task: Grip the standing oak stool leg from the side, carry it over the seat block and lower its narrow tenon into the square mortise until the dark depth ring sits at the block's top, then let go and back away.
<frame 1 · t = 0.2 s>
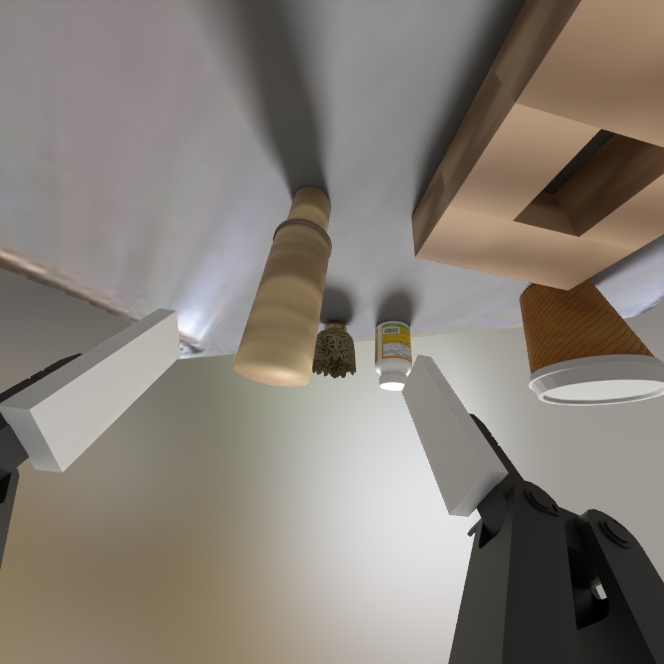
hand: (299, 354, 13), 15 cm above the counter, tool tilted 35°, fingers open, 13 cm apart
disposable coffee cup: (552, 291, 28), on the counter
supplement bottle: (392, 327, 39), on the counter
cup: (336, 323, 39), on the counter
seat block: (557, 149, 16), on the counter
leg: (312, 205, 21), on the counter
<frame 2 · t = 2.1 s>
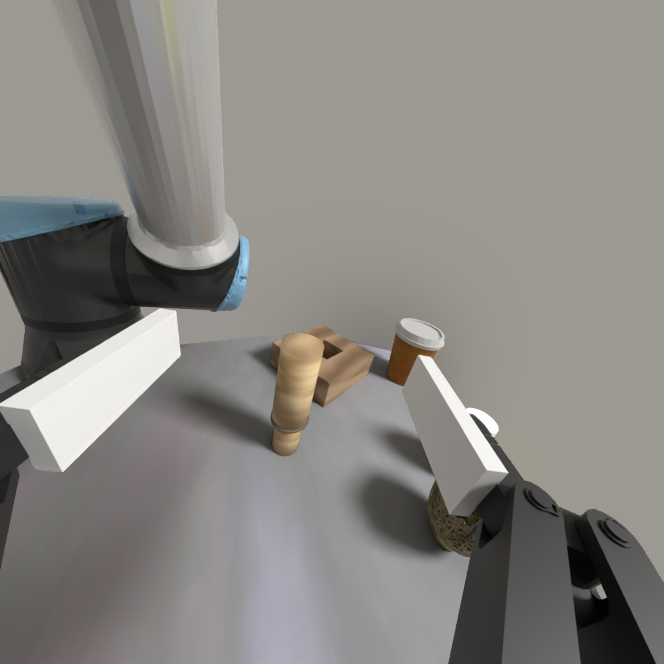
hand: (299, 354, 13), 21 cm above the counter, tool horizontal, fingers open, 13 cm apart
disposable coffee cup: (400, 377, 51), on the counter
supplement bottle: (447, 467, 34), on the counter
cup: (443, 533, 26), on the counter
seat block: (320, 369, 47), on the counter
leg: (285, 443, 32), on the counter
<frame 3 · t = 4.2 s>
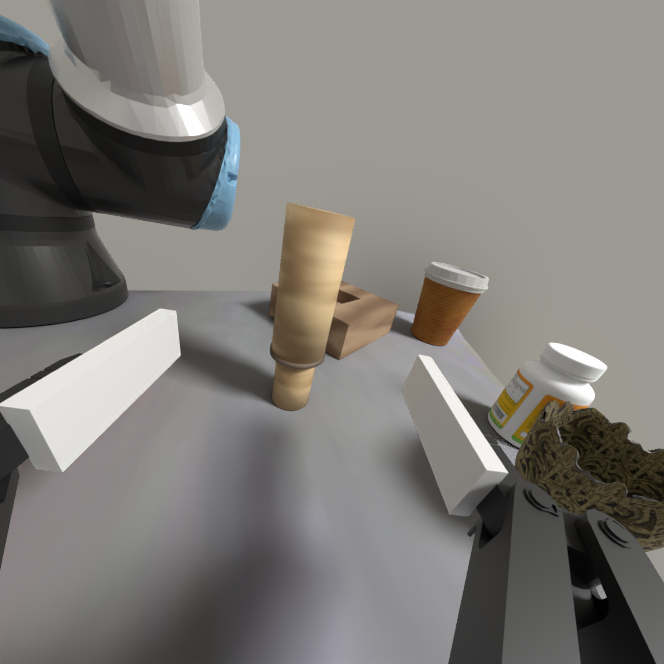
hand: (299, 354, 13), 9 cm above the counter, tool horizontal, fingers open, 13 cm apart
disposable coffee cup: (428, 337, 42), on the counter
supplement bottle: (512, 432, 25), on the counter
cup: (537, 519, 17), on the counter
seat block: (331, 324, 38), on the counter
leg: (290, 396, 22), on the counter
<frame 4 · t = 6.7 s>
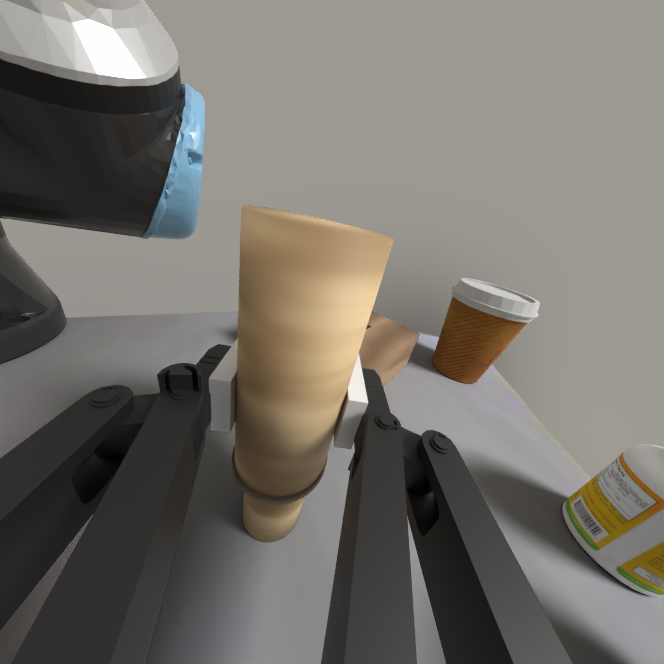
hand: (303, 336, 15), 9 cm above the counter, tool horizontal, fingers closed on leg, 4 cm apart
disposable coffee cup: (453, 370, 34), on the counter
supplement bottle: (604, 544, 17), on the counter
seat block: (334, 357, 30), on the counter
leg: (272, 506, 14), on the counter, touching gripper
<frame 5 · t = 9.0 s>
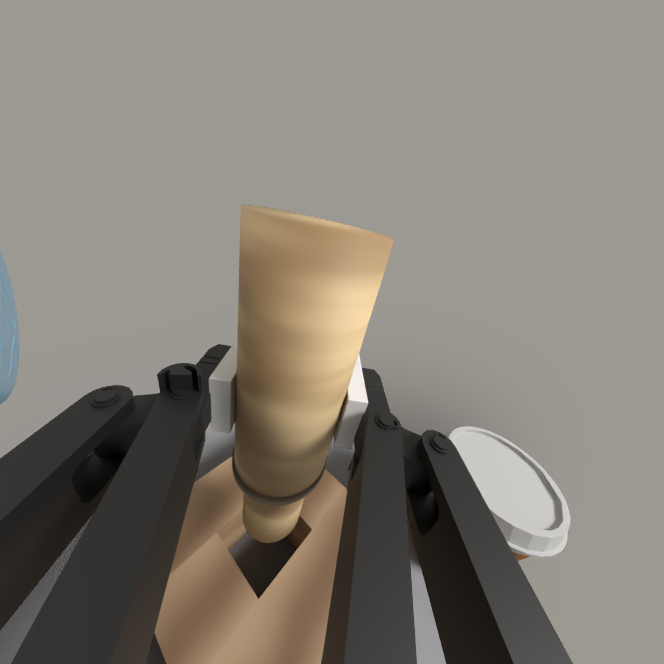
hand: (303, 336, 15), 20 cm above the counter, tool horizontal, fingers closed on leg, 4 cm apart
disposable coffee cup: (439, 542, 24), on the counter
seat block: (261, 559, 20), on the counter
leg: (272, 507, 14), point 11 cm above the counter, touching gripper
when the fingers open (11 cm above the counter, at t = 11.5 s): leg drops 2 cm, resting in seat block.
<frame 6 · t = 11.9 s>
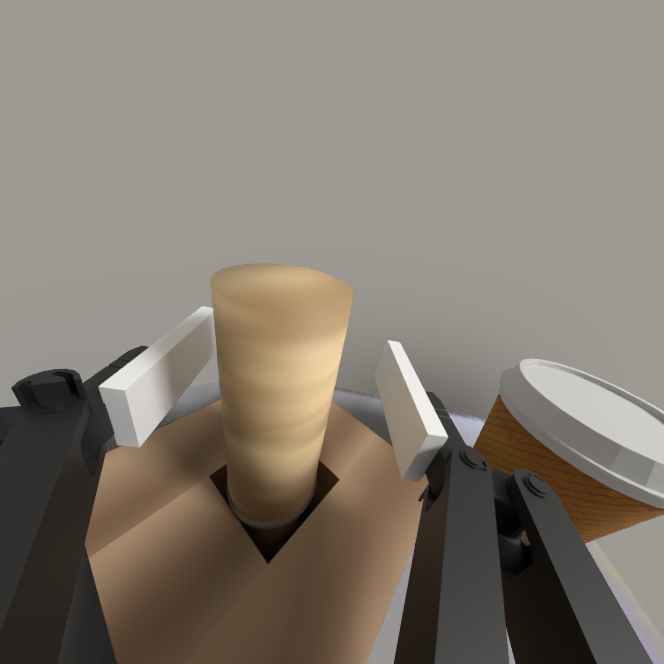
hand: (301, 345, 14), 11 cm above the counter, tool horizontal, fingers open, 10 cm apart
disposable coffee cup: (494, 512, 19), on the counter
seat block: (269, 523, 15), on the counter
leg: (270, 523, 15), resting in seat block
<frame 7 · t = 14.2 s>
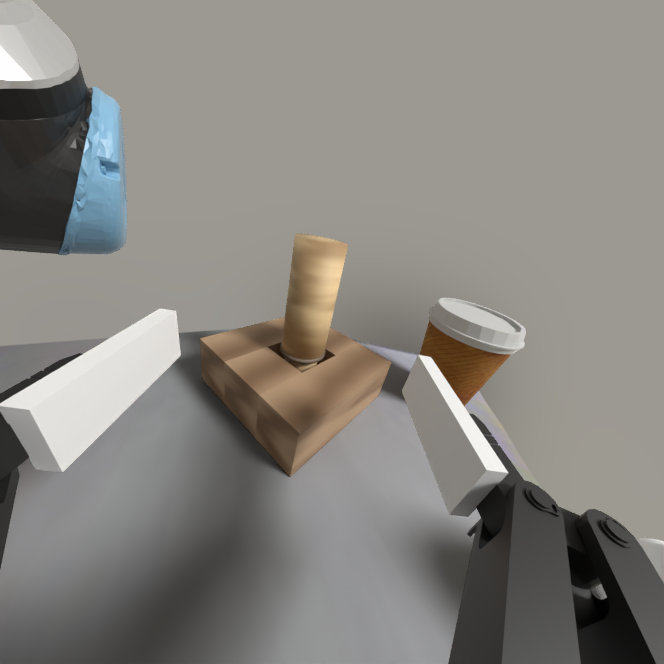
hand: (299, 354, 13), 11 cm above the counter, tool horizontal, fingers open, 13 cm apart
disposable coffee cup: (433, 398, 30), on the counter
supplement bottle: (596, 656, 13), on the counter
seat block: (295, 387, 27), on the counter
leg: (296, 388, 27), resting in seat block
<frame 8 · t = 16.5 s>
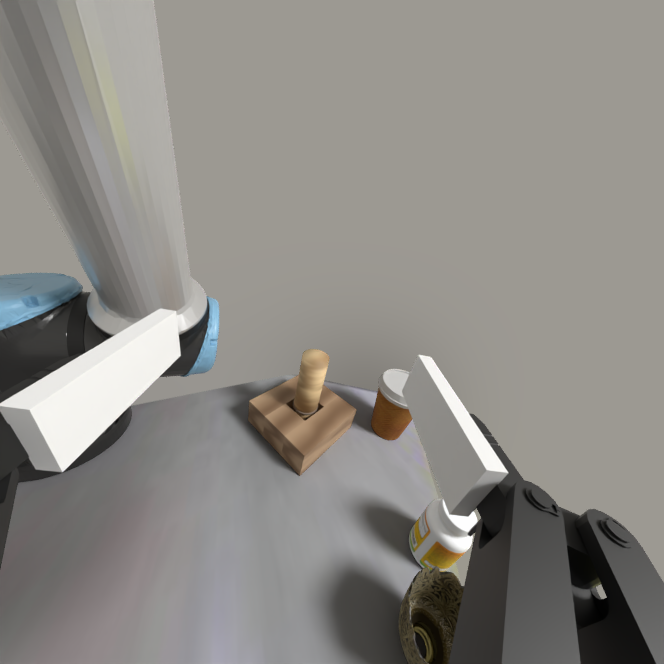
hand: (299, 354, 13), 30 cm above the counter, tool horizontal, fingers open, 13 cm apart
disposable coffee cup: (385, 427, 49), on the counter
supplement bottle: (426, 549, 32), on the counter
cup: (417, 646, 25), on the counter
seat block: (301, 424, 46), on the counter
leg: (301, 424, 46), resting in seat block
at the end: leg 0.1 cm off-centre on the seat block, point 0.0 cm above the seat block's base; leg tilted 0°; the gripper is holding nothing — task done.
